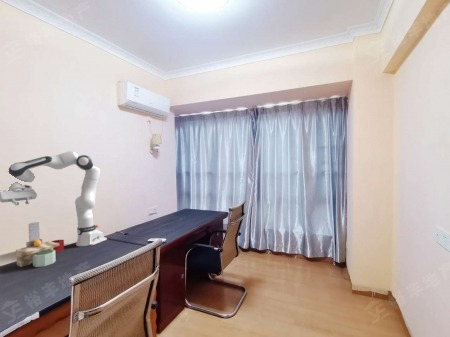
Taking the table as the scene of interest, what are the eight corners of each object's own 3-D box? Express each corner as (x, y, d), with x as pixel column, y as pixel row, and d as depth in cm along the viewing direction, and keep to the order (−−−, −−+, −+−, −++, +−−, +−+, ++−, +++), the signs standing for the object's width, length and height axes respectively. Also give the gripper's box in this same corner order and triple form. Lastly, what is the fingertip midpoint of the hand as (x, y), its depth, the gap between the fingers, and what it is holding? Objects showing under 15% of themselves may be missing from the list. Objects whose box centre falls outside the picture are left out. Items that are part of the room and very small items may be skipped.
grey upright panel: (40, 243, 157) (40, 221, 157) (42, 243, 156) (41, 221, 156) (26, 246, 150) (25, 224, 150) (28, 247, 149) (27, 224, 149)
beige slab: (48, 255, 162) (48, 241, 162) (59, 258, 156) (59, 243, 156) (16, 265, 146) (16, 249, 146) (27, 269, 140) (27, 252, 140)
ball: (39, 245, 154) (39, 239, 154) (42, 245, 152) (42, 239, 152) (32, 247, 151) (32, 240, 151) (35, 247, 149) (35, 241, 149)
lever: (56, 248, 178) (56, 239, 178) (67, 248, 177) (66, 239, 177) (33, 256, 161) (33, 247, 161) (45, 257, 159) (44, 247, 159)
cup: (49, 259, 155) (49, 248, 155) (58, 261, 150) (57, 250, 150) (30, 265, 146) (30, 254, 146) (39, 268, 141) (38, 256, 141)
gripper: (-3, 188, 154) (4, 203, 150) (33, 185, 172) (41, 199, 168) (-6, 194, 156) (1, 209, 152) (30, 191, 174) (38, 204, 170)
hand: (22, 204), depth 160 cm, fingers open, 4 cm apart
